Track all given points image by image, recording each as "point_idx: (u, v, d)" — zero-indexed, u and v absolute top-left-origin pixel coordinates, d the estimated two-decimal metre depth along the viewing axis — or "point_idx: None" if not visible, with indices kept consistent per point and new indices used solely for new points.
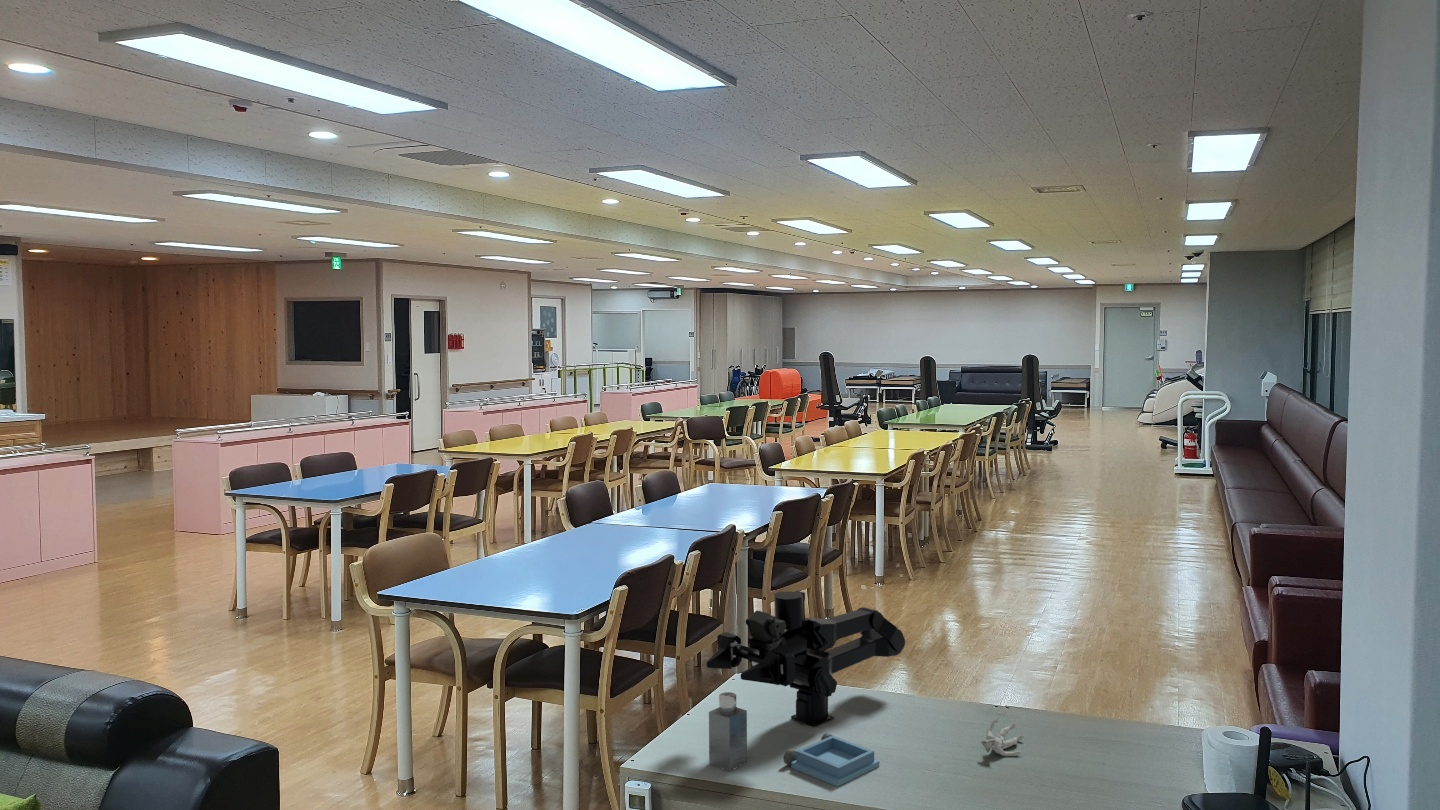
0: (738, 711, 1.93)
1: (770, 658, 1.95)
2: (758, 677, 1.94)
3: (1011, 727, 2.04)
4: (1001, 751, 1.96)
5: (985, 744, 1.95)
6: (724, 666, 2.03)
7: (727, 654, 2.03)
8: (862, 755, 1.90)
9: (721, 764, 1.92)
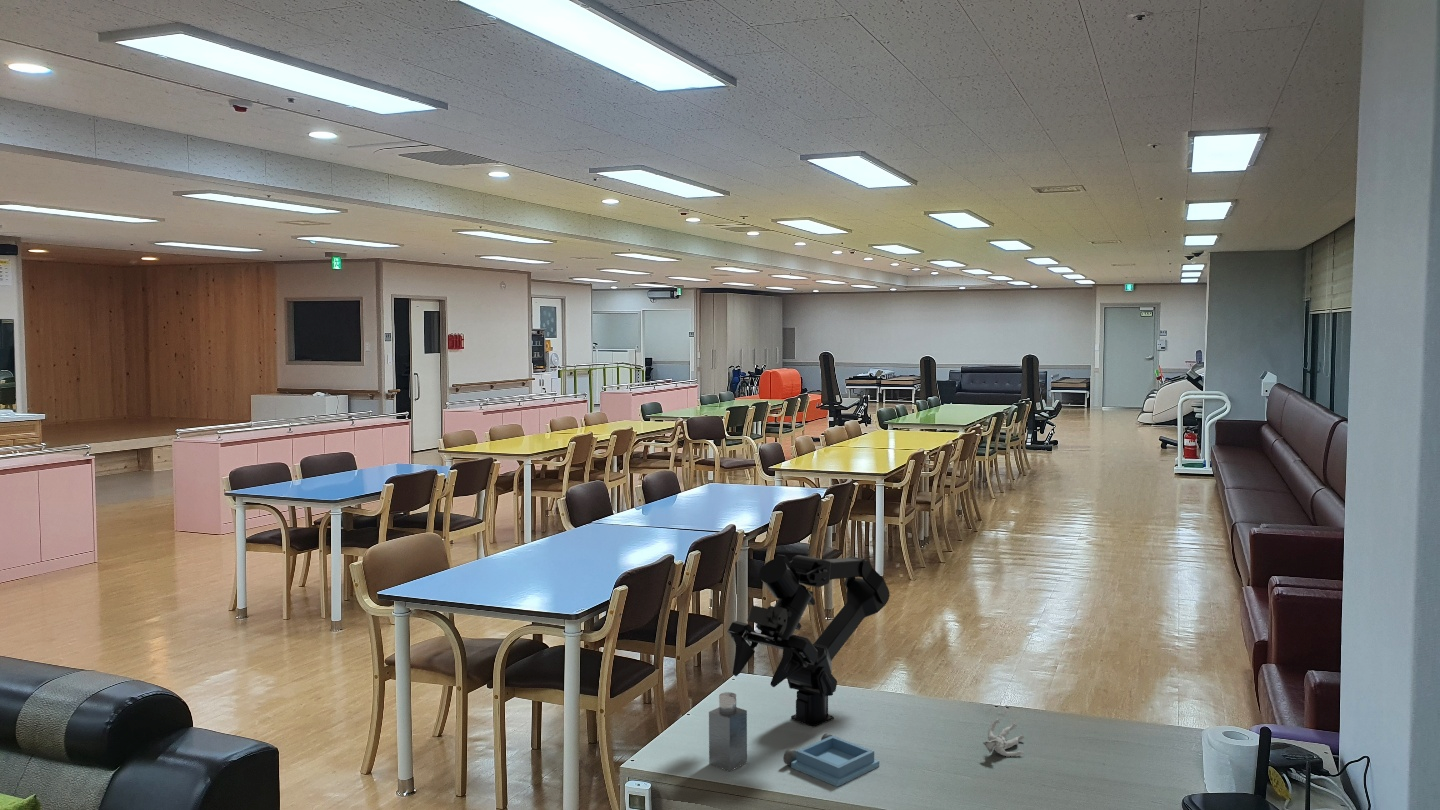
0: (738, 711, 1.93)
1: (788, 653, 1.96)
2: (786, 674, 1.97)
3: (1012, 727, 2.04)
4: (1003, 751, 1.96)
5: (987, 745, 1.95)
6: (748, 658, 2.05)
7: (745, 648, 2.04)
8: (862, 755, 1.90)
9: (721, 764, 1.92)
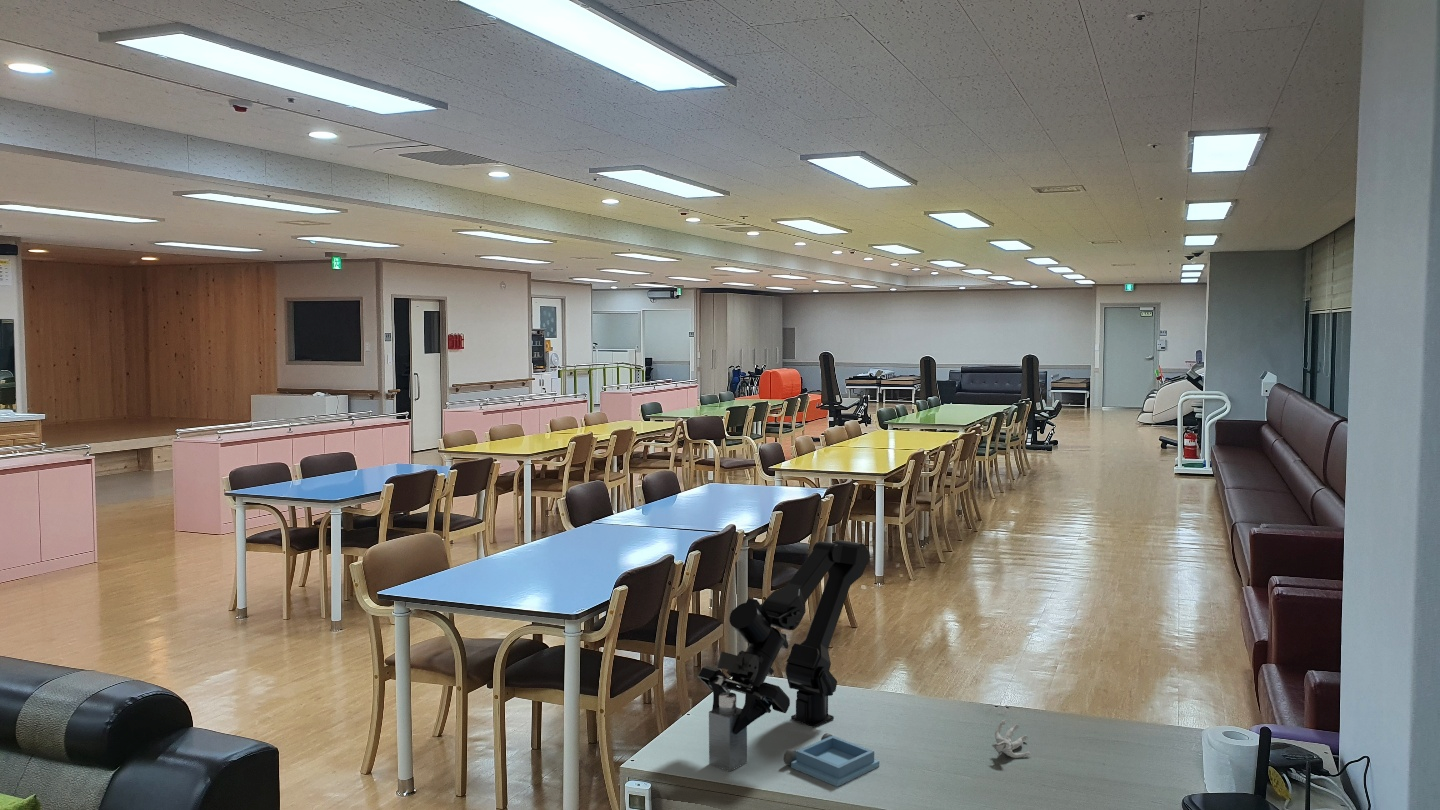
0: (738, 711, 1.93)
1: (751, 700, 1.91)
2: (749, 720, 1.92)
3: (1014, 728, 2.03)
4: (1012, 753, 1.95)
5: (997, 747, 1.93)
6: None
7: None
8: (862, 755, 1.90)
9: (721, 764, 1.92)
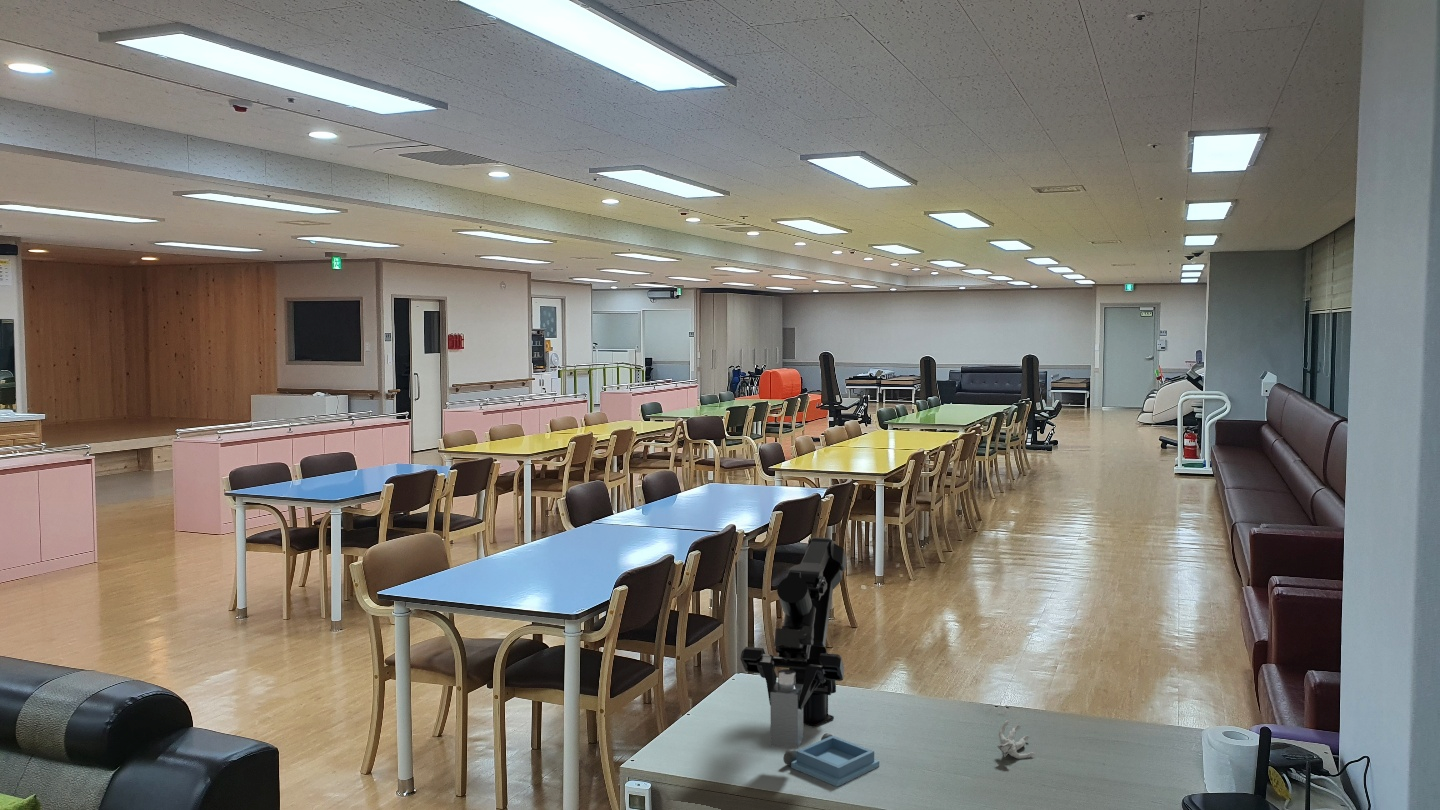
0: (797, 687, 1.90)
1: (813, 672, 1.89)
2: (809, 693, 1.90)
3: (1016, 728, 2.03)
4: (1016, 754, 1.94)
5: (1002, 748, 1.93)
6: None
7: (773, 674, 1.93)
8: (862, 755, 1.90)
9: (786, 742, 1.88)
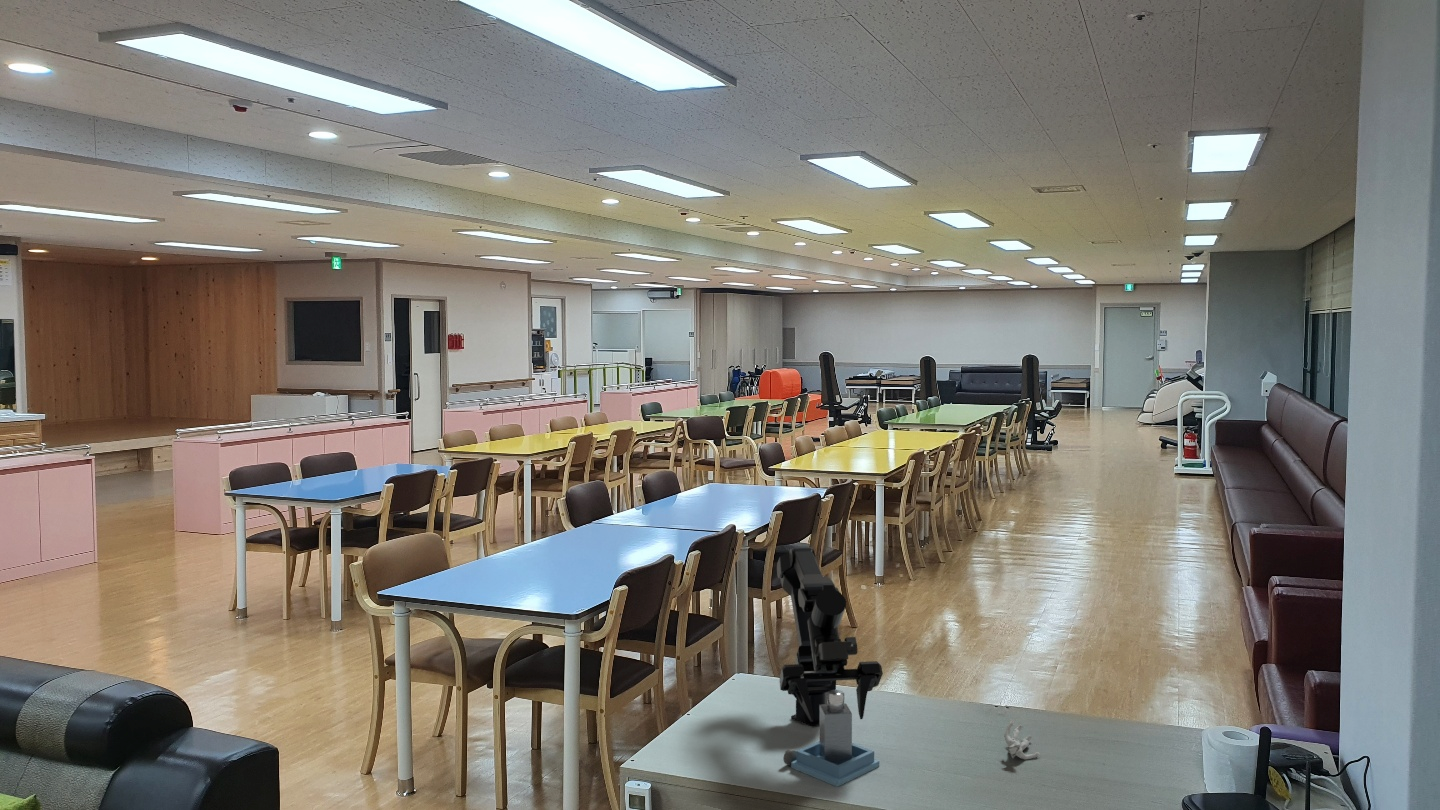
0: (843, 706, 1.92)
1: (868, 681, 1.93)
2: None
3: (1018, 729, 2.03)
4: (1023, 755, 1.94)
5: (1010, 749, 1.92)
6: None
7: None
8: (862, 755, 1.90)
9: (841, 763, 1.89)
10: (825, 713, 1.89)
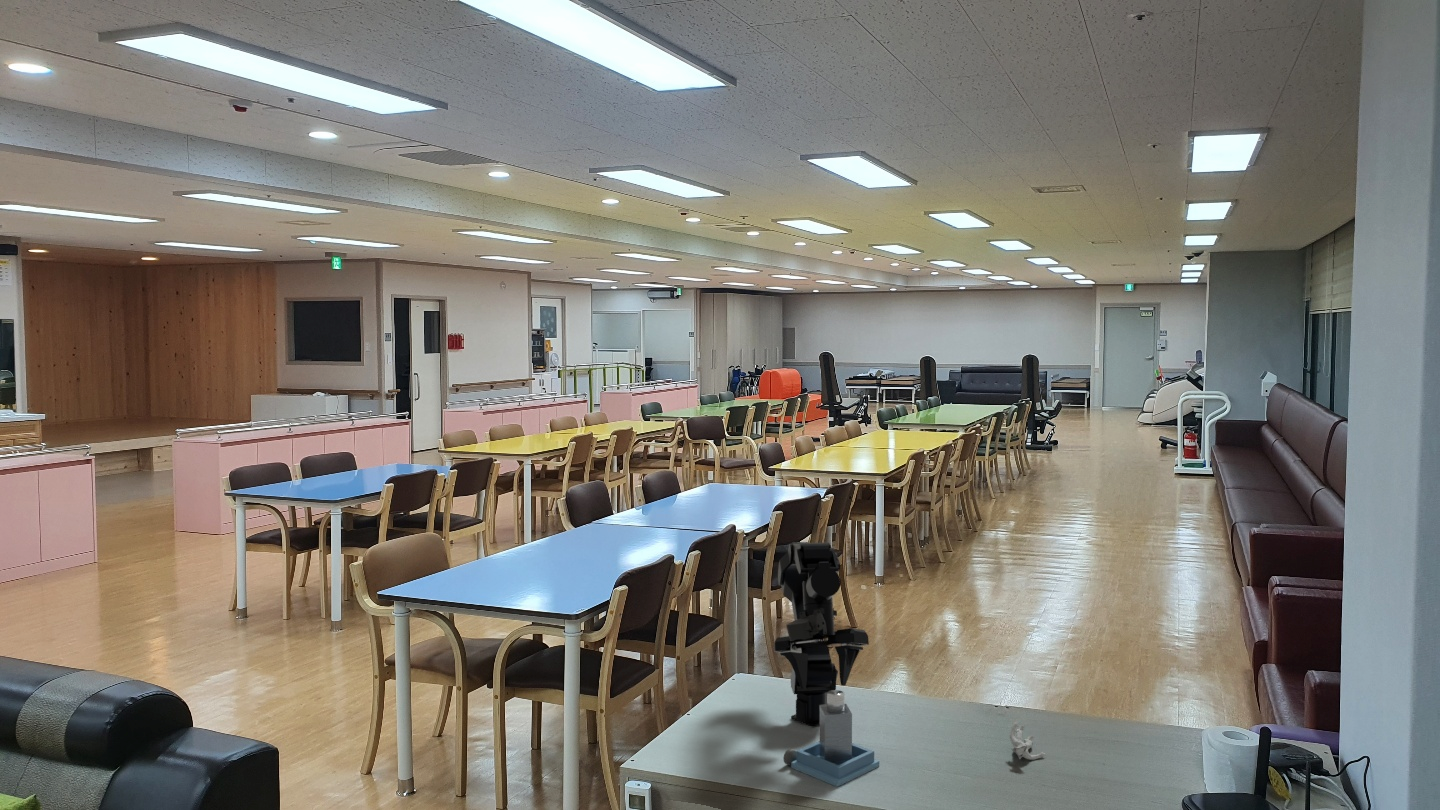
0: (843, 706, 1.92)
1: (843, 650, 1.97)
2: (850, 666, 1.99)
3: (1020, 729, 2.03)
4: (1029, 755, 1.94)
5: (1017, 751, 1.92)
6: (806, 664, 2.06)
7: (799, 658, 2.05)
8: (862, 755, 1.90)
9: (841, 763, 1.89)
10: (825, 713, 1.89)
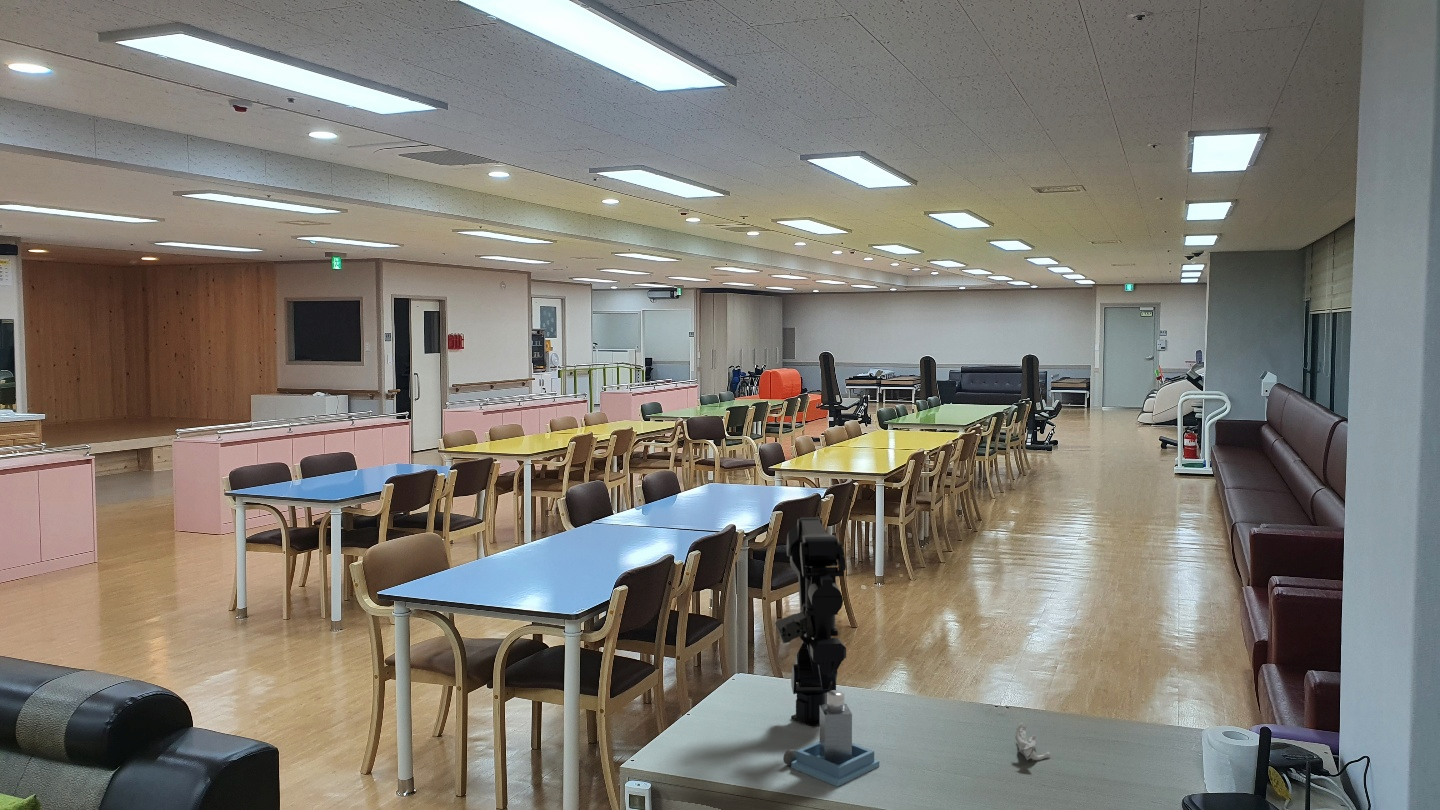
0: (843, 706, 1.92)
1: None
2: (831, 673, 1.94)
3: (1023, 729, 2.03)
4: (1035, 756, 1.94)
5: (1025, 752, 1.91)
6: None
7: None
8: (862, 755, 1.90)
9: (841, 763, 1.89)
10: (825, 713, 1.89)
